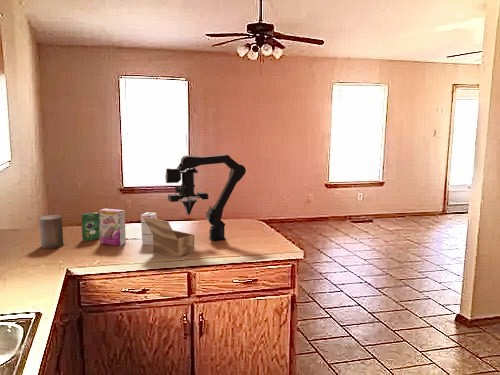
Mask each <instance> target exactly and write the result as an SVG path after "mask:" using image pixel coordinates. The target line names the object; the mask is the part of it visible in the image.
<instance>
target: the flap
mask: <svg viewBox="0 0 500 375" xmlns="http://www.w3.org/2000/svg"><path fill="white" fill-rule="evenodd" d="M143 218H144V220H145V222H146V224H147V226H148V227H149V229H150V231H151V233H152V234H154V235H158V236H162V237H167V238H171V239H175V240H177V238H176V236H175V234H174V232H173V230H174V229H173V228H172V226H171V224H170V223H169V221H167V220H163V219H158V218H157V219H154V218H149V217H145V216H143Z"/></svg>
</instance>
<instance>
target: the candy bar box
mask: <svg viewBox="0 0 500 375" xmlns="http://www.w3.org/2000/svg"><path fill="white" fill-rule="evenodd" d="M125 212H126V211H125V209H116V208H113V209H112V208H102V209H99V210H98V213H99V229H100V239H99V242H100V245H108V246H115V247H116V246H117V247H122V246H124V245H126V243H127V242H126V241H127V240H126V239H127V238H126V237H127V236H126V214H125Z"/></svg>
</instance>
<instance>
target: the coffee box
mask: <svg viewBox="0 0 500 375" xmlns="http://www.w3.org/2000/svg"><path fill="white" fill-rule="evenodd" d="M81 238H82V241H83V242H88V241H94V240H100V220H99V212H96V211H95V212H89V213H81Z"/></svg>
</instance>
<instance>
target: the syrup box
mask: <svg viewBox="0 0 500 375" xmlns="http://www.w3.org/2000/svg"><path fill="white" fill-rule="evenodd" d="M143 216H145V217H149V218H154V219H158V215H157V212H152V211H148V212H145V213H142V214H141V215H140V222H141V244H142V245H145V246H153V234H152V233H151V231H150V229H149V227H148V226H147V224H146V222H145V220H144V218H143Z"/></svg>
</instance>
